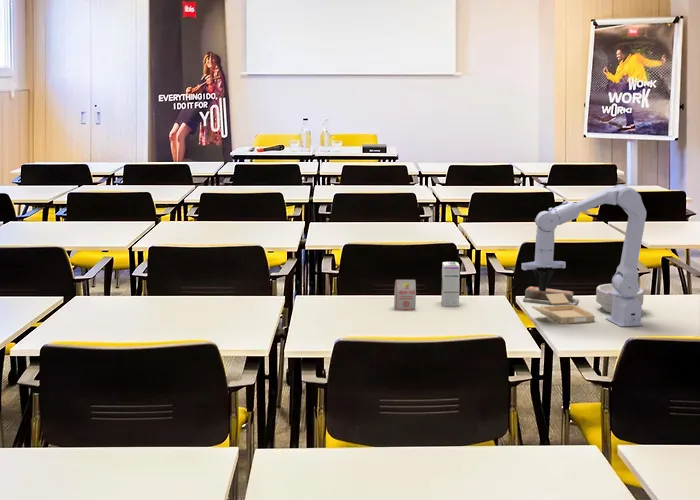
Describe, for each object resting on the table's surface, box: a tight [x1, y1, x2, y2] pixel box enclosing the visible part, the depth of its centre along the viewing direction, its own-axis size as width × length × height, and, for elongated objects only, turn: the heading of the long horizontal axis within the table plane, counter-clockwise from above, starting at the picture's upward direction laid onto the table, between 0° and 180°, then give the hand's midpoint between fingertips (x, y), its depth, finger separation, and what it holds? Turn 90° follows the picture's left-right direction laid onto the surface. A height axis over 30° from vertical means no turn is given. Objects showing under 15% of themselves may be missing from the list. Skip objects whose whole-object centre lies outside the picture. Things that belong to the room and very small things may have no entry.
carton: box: [539, 305, 596, 325], centre depth 278 cm, size 15×12×2 cm
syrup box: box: [441, 261, 461, 307], centre depth 291 cm, size 6×6×14 cm
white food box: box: [393, 279, 417, 311], centre depth 285 cm, size 4×7×10 cm, turn 93°
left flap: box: [531, 305, 558, 317], centre depth 273 cm, size 8×1×5 cm
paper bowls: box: [595, 283, 645, 314], centre depth 285 cm, size 15×15×8 cm
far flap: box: [546, 293, 569, 304], centre depth 287 cm, size 1×6×5 cm
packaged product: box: [522, 286, 580, 306], centre depth 297 cm, size 18×5×10 cm
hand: (542, 290), depth 272 cm, fingers closed
